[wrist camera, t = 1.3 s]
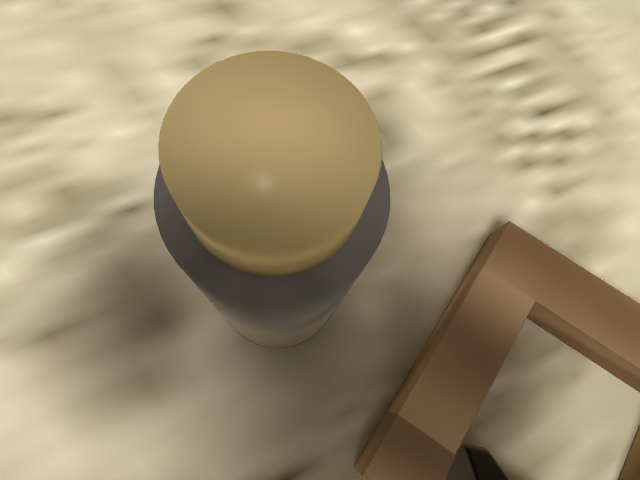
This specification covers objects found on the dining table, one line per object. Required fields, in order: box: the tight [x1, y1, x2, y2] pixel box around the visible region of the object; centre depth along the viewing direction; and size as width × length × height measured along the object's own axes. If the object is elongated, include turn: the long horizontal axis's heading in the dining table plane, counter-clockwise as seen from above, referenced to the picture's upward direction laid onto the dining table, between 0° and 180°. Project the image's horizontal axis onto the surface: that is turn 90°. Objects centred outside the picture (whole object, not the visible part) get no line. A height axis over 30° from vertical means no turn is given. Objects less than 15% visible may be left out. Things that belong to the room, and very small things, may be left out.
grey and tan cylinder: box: [154, 51, 390, 348], centre depth 14 cm, size 5×5×13 cm
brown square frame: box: [354, 221, 640, 480], centre depth 18 cm, size 12×12×2 cm
